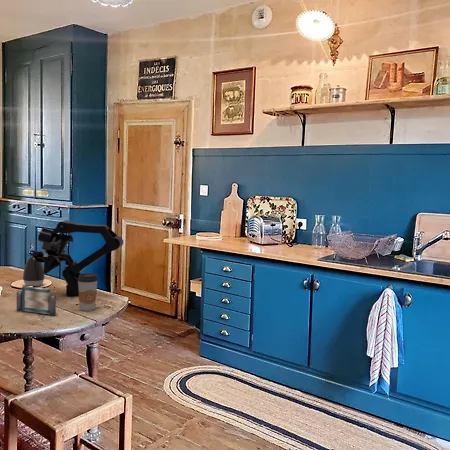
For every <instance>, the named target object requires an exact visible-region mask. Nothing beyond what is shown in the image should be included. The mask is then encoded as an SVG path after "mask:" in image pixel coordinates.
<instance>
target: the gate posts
mask: <svg viewBox="0 0 450 450" xmlns="http://www.w3.org/2000/svg"><path fill="white" fill-rule="evenodd" d="M56 309H57V296H56V294H55V295H54V294H52V295H51V294H50V313H49V316H50V317H55V316H56V315H57V310H56ZM16 312H23V311H22V290H18V291H16Z"/></svg>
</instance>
